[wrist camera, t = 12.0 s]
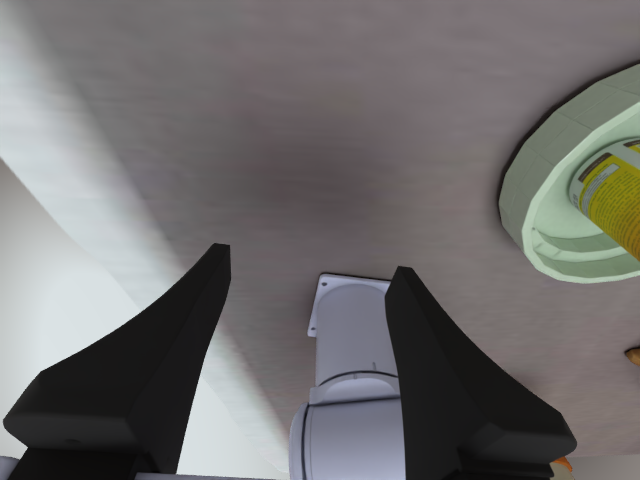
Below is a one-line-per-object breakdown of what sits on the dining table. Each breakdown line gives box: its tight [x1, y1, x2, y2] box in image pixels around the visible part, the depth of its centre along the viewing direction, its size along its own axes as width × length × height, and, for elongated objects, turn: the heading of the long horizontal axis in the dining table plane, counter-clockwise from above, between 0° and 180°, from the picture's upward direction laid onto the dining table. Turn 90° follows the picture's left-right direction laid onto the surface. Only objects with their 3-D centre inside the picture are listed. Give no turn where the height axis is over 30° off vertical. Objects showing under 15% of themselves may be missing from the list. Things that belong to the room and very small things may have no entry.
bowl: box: [499, 64, 640, 284], centre depth 20 cm, size 14×14×4 cm
